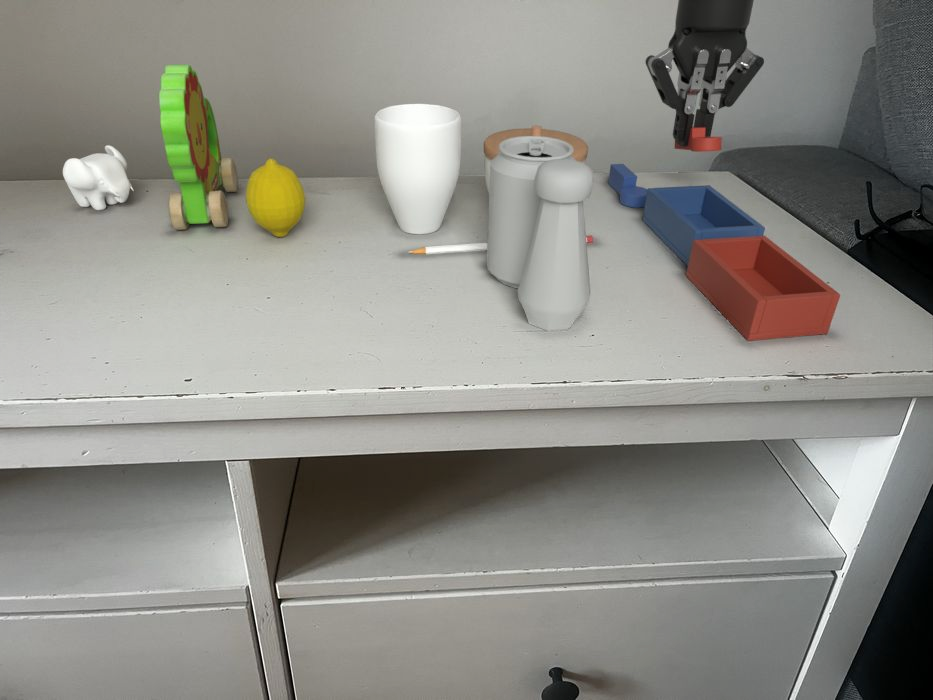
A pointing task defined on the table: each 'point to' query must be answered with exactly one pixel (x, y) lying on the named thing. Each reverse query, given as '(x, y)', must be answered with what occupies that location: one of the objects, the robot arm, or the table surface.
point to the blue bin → (695, 217)
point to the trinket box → (495, 139)
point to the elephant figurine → (98, 179)
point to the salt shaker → (558, 247)
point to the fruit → (275, 198)
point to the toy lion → (193, 151)
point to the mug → (418, 162)
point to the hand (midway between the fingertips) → (690, 143)
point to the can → (516, 201)
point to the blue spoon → (627, 186)
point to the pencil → (462, 248)
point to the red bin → (761, 288)
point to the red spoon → (701, 141)
